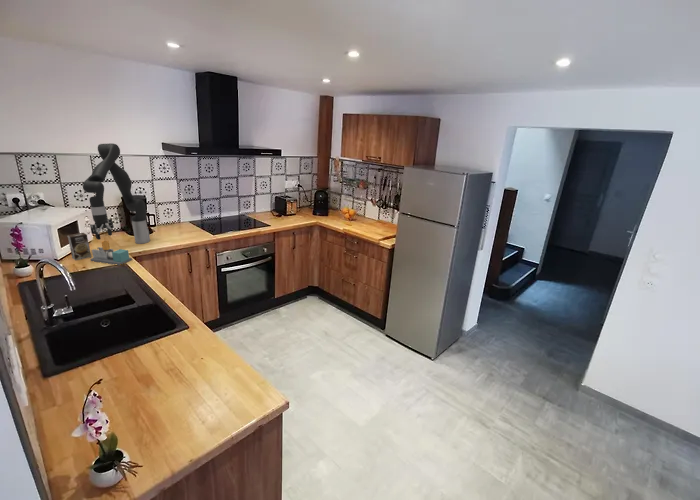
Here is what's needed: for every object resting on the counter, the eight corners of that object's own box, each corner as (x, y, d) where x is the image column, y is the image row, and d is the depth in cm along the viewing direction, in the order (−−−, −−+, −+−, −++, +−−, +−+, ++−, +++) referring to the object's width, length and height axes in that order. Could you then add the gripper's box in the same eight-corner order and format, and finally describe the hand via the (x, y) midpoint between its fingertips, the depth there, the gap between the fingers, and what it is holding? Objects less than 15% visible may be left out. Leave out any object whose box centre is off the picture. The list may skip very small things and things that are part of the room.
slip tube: (103, 257, 225) (100, 242, 221) (108, 255, 228) (105, 240, 224) (120, 259, 223) (117, 244, 219) (124, 257, 226) (121, 242, 222)
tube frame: (90, 261, 224) (88, 250, 221) (104, 255, 233) (101, 245, 231) (119, 265, 220) (117, 254, 217) (131, 259, 229) (130, 249, 227)
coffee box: (75, 260, 223) (70, 237, 218) (72, 258, 227) (66, 235, 221) (92, 257, 230) (87, 234, 224) (88, 254, 234) (83, 232, 228)
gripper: (103, 209, 223) (108, 233, 229) (83, 215, 210) (89, 240, 216) (113, 211, 222) (118, 234, 227) (94, 216, 209) (100, 241, 214)
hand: (104, 237), depth 222 cm, fingers open, 8 cm apart
